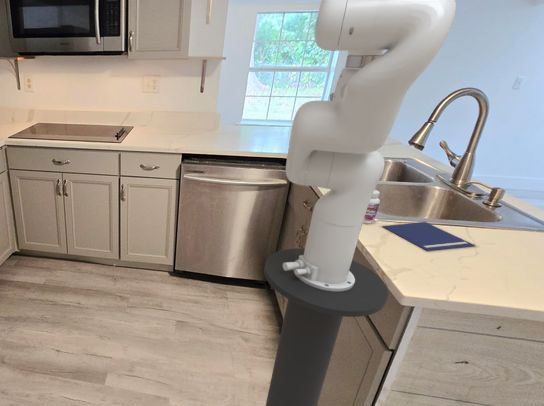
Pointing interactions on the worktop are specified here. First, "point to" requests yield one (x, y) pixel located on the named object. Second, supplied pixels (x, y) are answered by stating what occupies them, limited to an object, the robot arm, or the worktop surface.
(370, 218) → the pill bottle
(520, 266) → the worktop surface
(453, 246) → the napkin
